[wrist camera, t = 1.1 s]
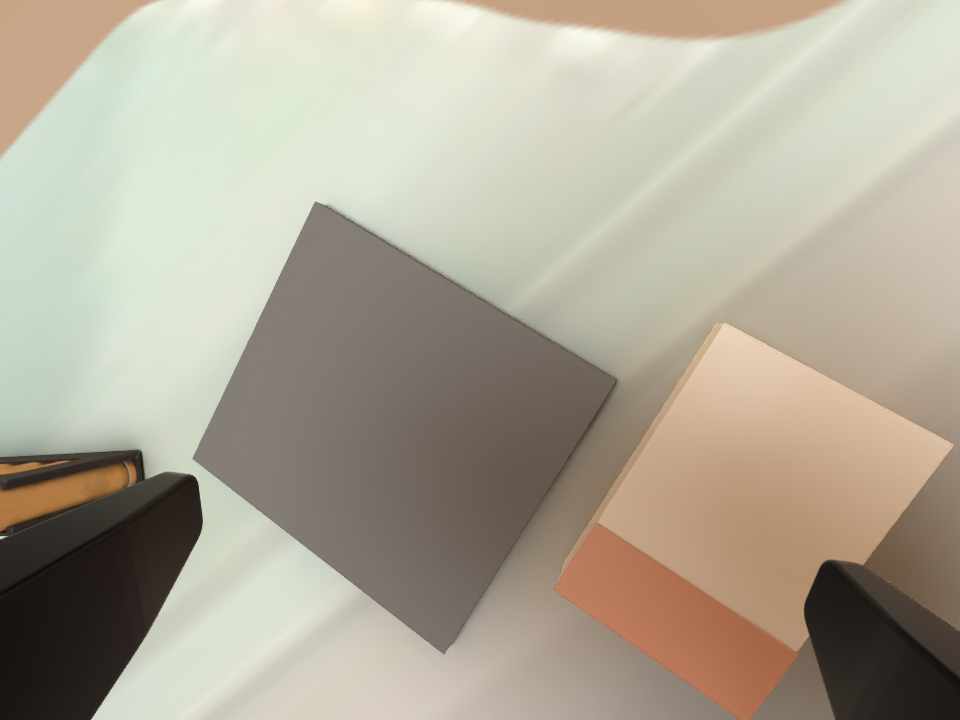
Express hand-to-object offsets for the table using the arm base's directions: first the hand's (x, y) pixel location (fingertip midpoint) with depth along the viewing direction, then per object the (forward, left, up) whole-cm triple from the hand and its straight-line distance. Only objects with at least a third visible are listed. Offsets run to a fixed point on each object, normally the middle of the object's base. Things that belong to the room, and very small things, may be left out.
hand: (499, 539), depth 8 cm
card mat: (+6, +4, -10) cm, 12 cm away
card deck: (-5, 0, -11) cm, 12 cm away
